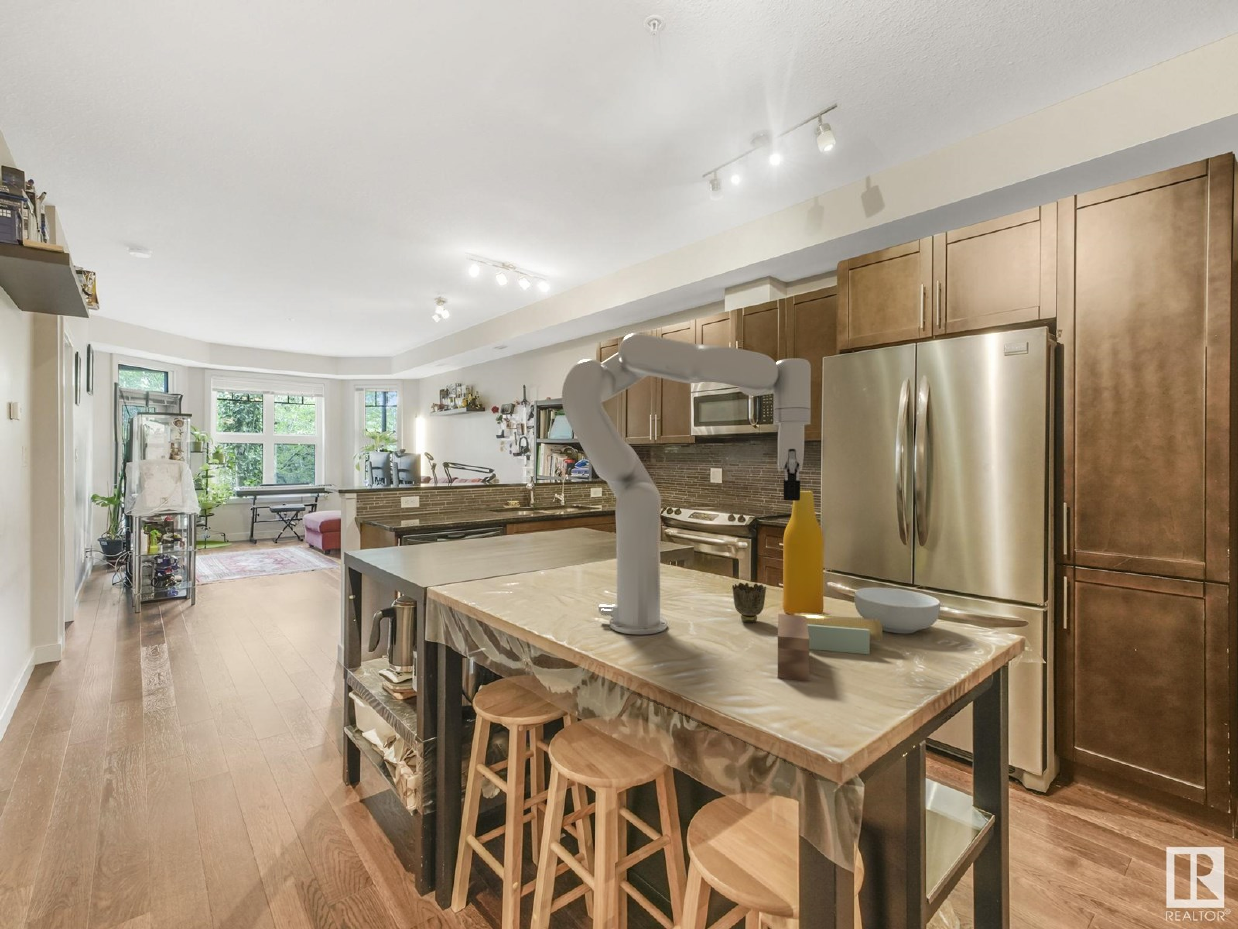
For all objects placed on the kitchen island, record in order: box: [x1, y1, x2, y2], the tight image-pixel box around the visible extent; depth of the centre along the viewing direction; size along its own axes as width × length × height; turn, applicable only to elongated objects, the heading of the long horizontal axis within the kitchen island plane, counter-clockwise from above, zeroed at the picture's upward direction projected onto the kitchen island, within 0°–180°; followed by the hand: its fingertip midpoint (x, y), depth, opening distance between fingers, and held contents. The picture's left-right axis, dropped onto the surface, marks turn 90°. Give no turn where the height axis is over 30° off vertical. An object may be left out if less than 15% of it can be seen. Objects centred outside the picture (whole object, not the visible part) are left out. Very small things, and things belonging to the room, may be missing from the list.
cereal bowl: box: [853, 587, 941, 634], centre depth 122 cm, size 17×17×7 cm
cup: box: [731, 582, 767, 624], centre depth 127 cm, size 8×7×8 cm
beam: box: [777, 613, 810, 682], centre depth 100 cm, size 5×14×7 cm, turn 164°
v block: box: [801, 613, 870, 655], centre depth 111 cm, size 12×9×4 cm
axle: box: [794, 613, 883, 642], centre depth 111 cm, size 16×4×4 cm, turn 74°
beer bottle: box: [782, 490, 825, 615], centre depth 134 cm, size 9×9×29 cm
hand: (791, 498), depth 119 cm, fingers open, 9 cm apart
